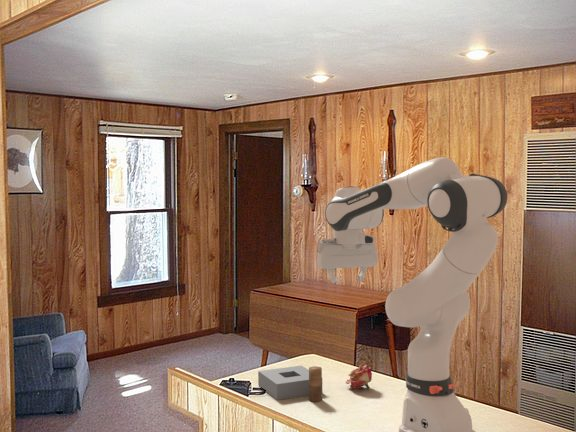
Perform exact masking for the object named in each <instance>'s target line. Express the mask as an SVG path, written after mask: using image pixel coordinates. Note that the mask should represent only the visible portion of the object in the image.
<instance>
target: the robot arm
mask: <svg viewBox="0 0 576 432" xmlns="http://www.w3.org/2000/svg"><path fill="white" fill-rule="evenodd" d="M507 203H508V192H507V189H506V186H505V184H504V183H502V181H500V180H499V179H497V178H495V177H491V176H488V175H482V174H477V173H471V174H469V175H464V174H463V173H462V172H461V171H460V167H459V166H458V164H457V163H456V162H455V161H454V160H452V159H451V158H449V157H446V156H445V157H443V156H442V157H439V156H438V157H436V158H432V159H429V160H426V161H423V162H421V163H418V164H415V165H413V166H412V167H410V168H408V169H406V170H405V171H403V172H400V173H399V174H397V175H394V176H393V177H390V178H389V179H386V180H384V181H382V182H380V183H378V184H376V185H373V186H371V187H368V188H365V189H364V190H361V189H360V187H358V186H344V187H340V188H338V189H337V190H336V191H335V194H334V197H333V198H332V199H331V200H330V201H329V202H328V204H327V205H326V208H325V211H324V216H325V221H326V222H327V224H328V225H329V227H331V229H333V238H328V239H327V238H323V239H321V240H320V241H318V244H317V251H318V252H317V257H316V266H317V267H318V268H319V269H320V270H321V269H322V270H327V273H328V275H329V276H330V282H331V283H332V284H337V283H338V277H337V276H336V275H335V270H336V269H351V268H359V270H360V272H359V274H358V275H356V280H357V282H363V281H364V280H365V275H366V273H367V271H368V267H376V265H378V249H377V245H375V244H376V240H377V239H376V237H375V236H373V235H370V234H366V233H363V232H362V230H369V229H370V230H372V229H374V228H375V229H376V228H378V227H379V226H380V225H381V224H382V222H383V220H384V217H385V210H414V209H419V208H420V209H421V208H425V207H427V209H428V210H429V212H430V215H431V216H432V218H433V219H434V220H435V221H436V222H437V223H439V224H440V226H441V228H442V229H443V230H445V231H447V232H452V234H451V235H450V237H449V238H448V240H447V241H446V242H445V243H444V245H443V247H442V249H440V251H439V252H438V254H437V255H436V256H435V258H434V260H433V261H432V262H431V263H430V264H429V265H428V266H427V267H426V268H425V269H424V270H422V271H420V273H419V274H417V275H416V276H415V277H414V278H413V279H411V280H410V281H408V282H407V283H406V284H404V285H402V286H400V287H399V288H395V289H394V290H392V291H391V292H389V294H388V295H387V297H386V299H385V305H384V307H385V314H386V316H387V318H388V319H389V322H391V323H392V324H393V325H395V326H397V327H402V328H411V329H412V328H413V329H414V328H419V327H420V330H419V332H418V333H417V335H416V336H415V338H413V340H411V341H410V343H409V345H408V346H407V372H406V376H405V386H406V387H405V388H407V390H406V394H405V397H404V399H403V407H402V417H401V424H399V426H398V432H476V430H474V429H473V422H472V421H473V420H472V416H471V414H470V411H469V409H468V408H467V407H465V406H464V405H463V404H462V402H461V401H460V399H459V398H458V397H457V396H456V394H455V392H454V391H455V389H456V388H457V387H456V386H457V384H456V383H453V381H452V378H451V375H450V359H451V357H450V354H451V347H452V343H453V342H452V341H453V339H454V336H455V334H456V331H457V329H458V327H459V325H460V323H461V322H462V320H463V319H464V318H465V317H467V315H468V314H469V313H470V309H471V299H470V295H469V293H468V292H467V290H468V289H469V288H471V287H470V286H471V285H472V284H473V283H474V282H475V281H476V279H477V278H478V277H479V275H480V274H481V273H482V272H483V270H484V269H485V268H486V266H487V264H488V263H489V262H490V261H491V258H492V256H493V254H494V252H495V251H496V248H497V246H498V244H499V235H498V232H497V231H496V229H495V228H494V227H493V225H491V224H490V223H489V221H488V219H490V218H493V217H495V216H497V215H499V214H500V213H501V212H502V211H503V210H504V209H505V207H506V205H507Z"/></svg>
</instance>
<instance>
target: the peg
mask: <svg viewBox="0 0 576 432" xmlns="http://www.w3.org/2000/svg"><path fill="white" fill-rule="evenodd" d="M308 370H309V395H308V400H309V402H311V403H320V402H322V401H323V374H322V372H323V369H322V367H321V366H315V365H314V366H313V365H312V366H310V367H309V368H308Z"/></svg>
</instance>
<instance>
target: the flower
mask: <svg viewBox="0 0 576 432" xmlns="http://www.w3.org/2000/svg"><path fill="white" fill-rule="evenodd" d="M361 365H362V364H359V366H358V367H357V368H355V369H352V370H351V371H350V373H348V376H349V379H346V381H345V384H347V385H349V388H350V389H351V390H355V389H360V388H362V387H365V388H366V389H367V390H370V389H371V387H370V386H369V383H371V382H372V380H373V373H372V372H373V371H372V370H373V369H372V368H371V367H370V366H369V365H368V364H366V365H365V364H364V365H362V366H361Z"/></svg>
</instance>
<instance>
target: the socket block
mask: <svg viewBox="0 0 576 432" xmlns="http://www.w3.org/2000/svg"><path fill="white" fill-rule="evenodd" d="M257 373H258V374H257V375H258V376H257V377H258V379H257V381H258V385H259V386H260V387H259V386H258V387H259V388H261V387H262V388H264V389H265V390H266V391H265V392H266V393H267V394H269V396H271V397H273V398H274V399H275V400H276V401H281V400H287V399H294V398H300V397H306V396H309V368H306V367H305V366H303V365H295V366H294V365H293V366H288V367H286V366H285V367H279V368H271V369H265V370H264V369H263V370H258V371H257ZM262 388H261V389H262Z"/></svg>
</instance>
